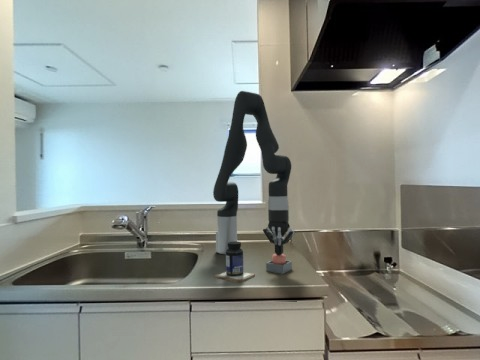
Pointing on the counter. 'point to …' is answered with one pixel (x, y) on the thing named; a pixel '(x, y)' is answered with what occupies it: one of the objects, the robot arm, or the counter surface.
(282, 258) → the button
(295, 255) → the counter surface
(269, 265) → the button collar
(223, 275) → the picture frame
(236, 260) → the pill bottle
